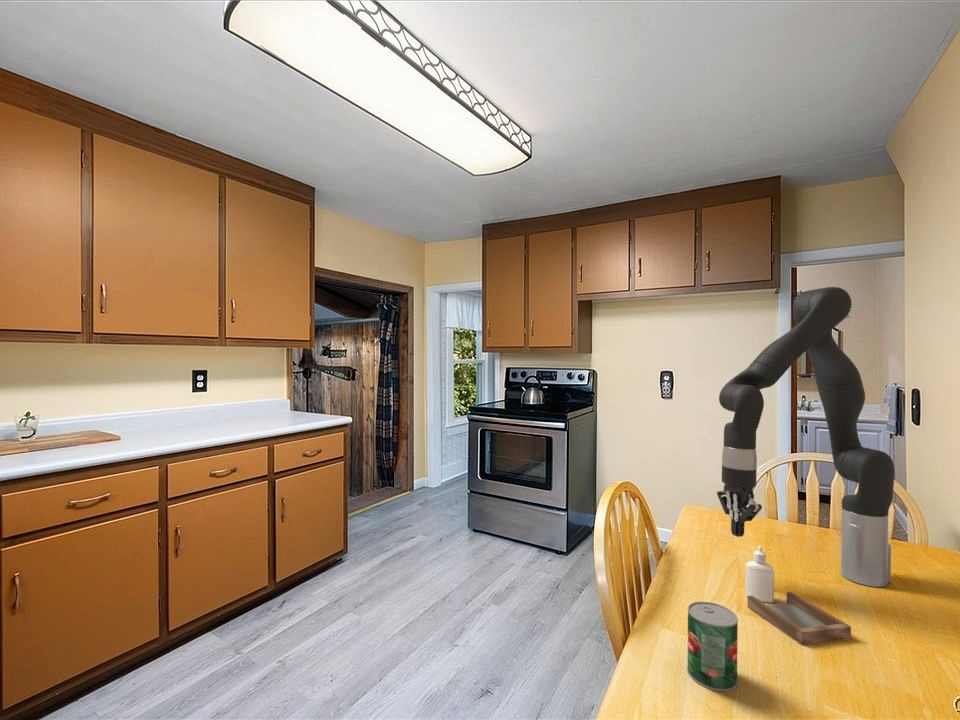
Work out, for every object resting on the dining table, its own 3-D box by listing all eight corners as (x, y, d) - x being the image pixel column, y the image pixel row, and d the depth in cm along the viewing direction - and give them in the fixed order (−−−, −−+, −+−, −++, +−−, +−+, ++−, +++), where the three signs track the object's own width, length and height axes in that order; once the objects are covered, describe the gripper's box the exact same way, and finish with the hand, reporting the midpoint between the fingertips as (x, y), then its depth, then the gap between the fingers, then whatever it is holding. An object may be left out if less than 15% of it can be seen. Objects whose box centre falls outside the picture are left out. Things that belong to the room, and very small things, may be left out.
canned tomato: (747, 690, 79) (748, 625, 79) (702, 692, 78) (703, 626, 78) (720, 660, 87) (720, 600, 87) (678, 662, 86) (679, 602, 86)
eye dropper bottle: (767, 606, 106) (768, 553, 106) (742, 595, 111) (742, 544, 111) (776, 601, 109) (777, 548, 109) (751, 590, 113) (752, 540, 113)
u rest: (791, 602, 108) (791, 591, 108) (850, 639, 94) (851, 626, 94) (747, 607, 106) (747, 596, 106) (801, 645, 92) (802, 632, 92)
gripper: (773, 471, 111) (771, 545, 111) (733, 459, 124) (731, 525, 124) (745, 472, 109) (743, 546, 109) (707, 459, 122) (706, 526, 122)
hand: (737, 535), depth 117 cm, fingers closed
